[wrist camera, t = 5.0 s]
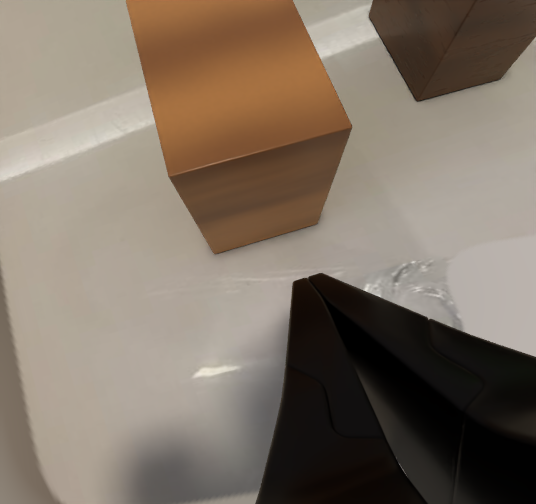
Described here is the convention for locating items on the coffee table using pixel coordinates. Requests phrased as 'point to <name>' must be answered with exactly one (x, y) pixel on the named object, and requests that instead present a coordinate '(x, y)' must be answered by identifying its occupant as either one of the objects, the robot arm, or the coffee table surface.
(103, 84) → the coffee table surface
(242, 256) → the coffee table surface
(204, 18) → the oak block
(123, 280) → the coffee table surface
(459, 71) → the walnut block
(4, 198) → the coffee table surface
